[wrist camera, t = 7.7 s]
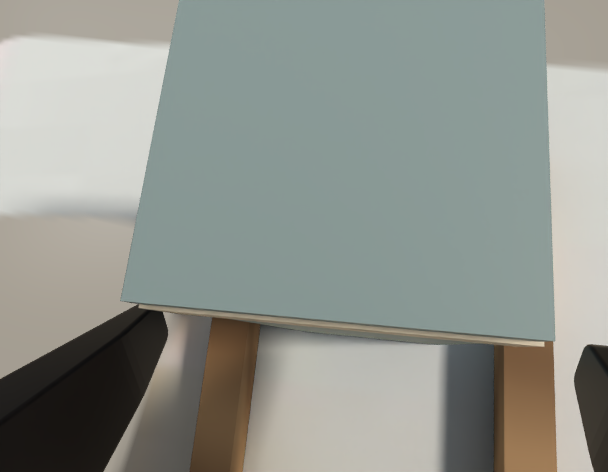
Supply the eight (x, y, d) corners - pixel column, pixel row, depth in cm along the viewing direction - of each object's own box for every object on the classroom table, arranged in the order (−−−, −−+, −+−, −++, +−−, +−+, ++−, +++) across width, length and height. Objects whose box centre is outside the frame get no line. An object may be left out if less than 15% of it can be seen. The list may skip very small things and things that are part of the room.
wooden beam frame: (545, 661, 13) (605, 786, 10) (190, 575, 16) (127, 647, 12) (534, 154, 17) (574, 100, 13) (250, 151, 20) (215, 105, 16)
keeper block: (438, 346, 16) (560, 346, 4) (306, 332, 17) (115, 304, 5) (441, 216, 17) (546, -63, 6) (317, 212, 18) (182, -31, 7)
